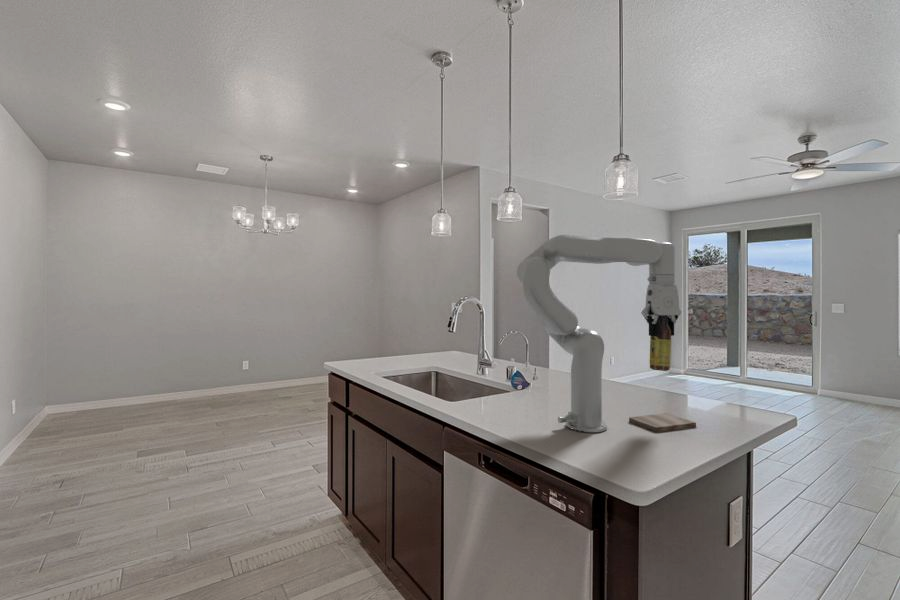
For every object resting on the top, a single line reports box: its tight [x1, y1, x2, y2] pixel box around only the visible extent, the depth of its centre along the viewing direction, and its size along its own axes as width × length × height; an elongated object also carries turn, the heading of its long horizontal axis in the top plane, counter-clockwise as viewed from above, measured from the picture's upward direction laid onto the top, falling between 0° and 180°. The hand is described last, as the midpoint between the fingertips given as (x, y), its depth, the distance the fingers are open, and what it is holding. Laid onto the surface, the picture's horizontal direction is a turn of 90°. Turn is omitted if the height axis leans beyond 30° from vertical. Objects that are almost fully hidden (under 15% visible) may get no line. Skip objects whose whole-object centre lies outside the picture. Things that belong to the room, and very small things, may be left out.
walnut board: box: [628, 412, 697, 433], centre depth 144 cm, size 16×12×2 cm
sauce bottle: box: [649, 315, 672, 372], centre depth 144 cm, size 6×6×20 cm
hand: (661, 335), depth 144 cm, fingers closed on sauce bottle, 6 cm apart
